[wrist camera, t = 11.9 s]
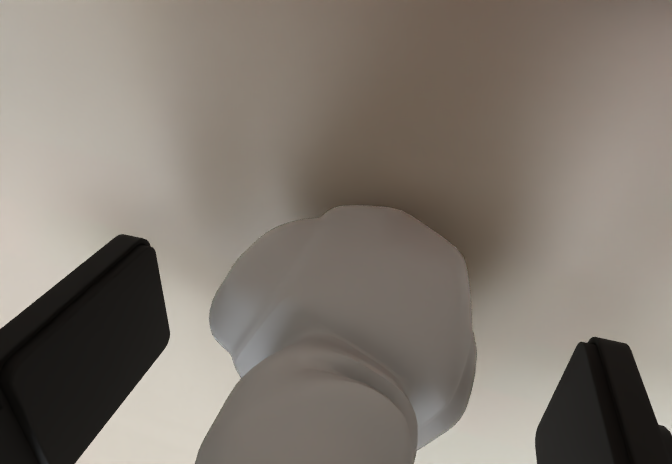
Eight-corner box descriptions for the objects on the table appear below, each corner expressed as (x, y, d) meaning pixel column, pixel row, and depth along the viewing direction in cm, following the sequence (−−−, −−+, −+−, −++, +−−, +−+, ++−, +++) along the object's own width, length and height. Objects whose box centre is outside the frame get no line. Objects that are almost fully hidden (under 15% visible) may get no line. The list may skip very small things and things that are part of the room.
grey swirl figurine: (545, 260, 10) (667, 864, 3) (376, 399, 14) (277, 819, 7) (337, 113, 10) (16, 488, 3) (220, 299, 13) (-39, 648, 7)
